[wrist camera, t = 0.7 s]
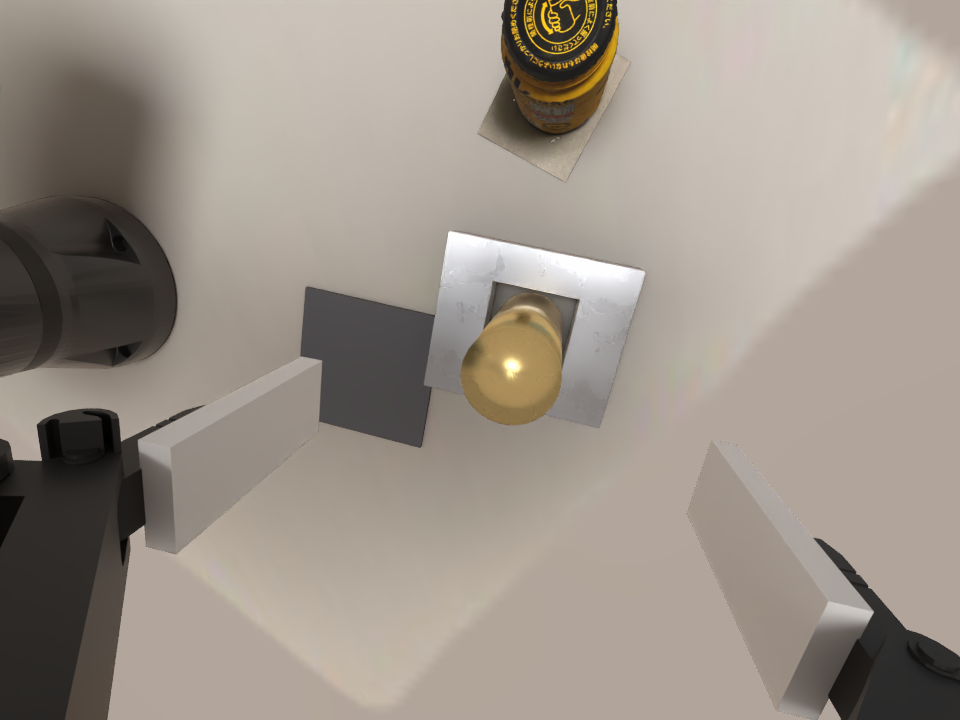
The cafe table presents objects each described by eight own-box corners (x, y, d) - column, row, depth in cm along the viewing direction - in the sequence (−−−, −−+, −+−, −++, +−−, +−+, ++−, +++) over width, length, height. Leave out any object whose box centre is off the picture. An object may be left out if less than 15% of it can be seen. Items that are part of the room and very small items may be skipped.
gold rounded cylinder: (491, 347, 38) (452, 411, 25) (504, 285, 36) (470, 318, 23) (553, 362, 37) (548, 435, 24) (569, 299, 36) (573, 341, 23)
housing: (433, 373, 40) (423, 385, 37) (458, 230, 36) (449, 231, 33) (596, 413, 38) (599, 428, 35) (638, 268, 34) (645, 271, 32)
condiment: (630, 62, 31) (670, -34, 20) (565, 182, 34) (566, 158, 22) (536, 10, 31) (521, -115, 20) (478, 134, 34) (435, 86, 23)
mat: (298, 413, 43) (295, 415, 43) (308, 286, 39) (305, 287, 39) (421, 445, 42) (420, 447, 41) (443, 317, 38) (442, 318, 38)
